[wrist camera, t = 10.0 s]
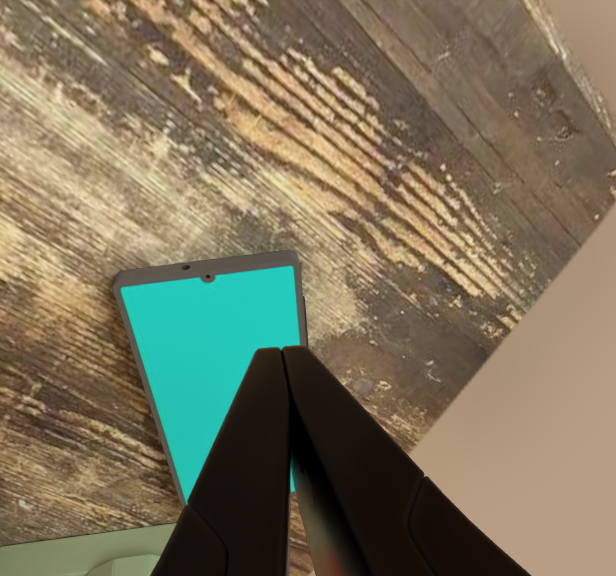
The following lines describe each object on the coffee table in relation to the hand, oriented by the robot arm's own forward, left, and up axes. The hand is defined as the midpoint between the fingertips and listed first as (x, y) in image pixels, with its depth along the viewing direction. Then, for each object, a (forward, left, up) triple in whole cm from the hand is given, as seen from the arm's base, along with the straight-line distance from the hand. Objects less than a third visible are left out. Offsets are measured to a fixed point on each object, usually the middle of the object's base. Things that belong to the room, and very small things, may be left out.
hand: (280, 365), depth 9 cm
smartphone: (+1, +12, -12) cm, 17 cm away
